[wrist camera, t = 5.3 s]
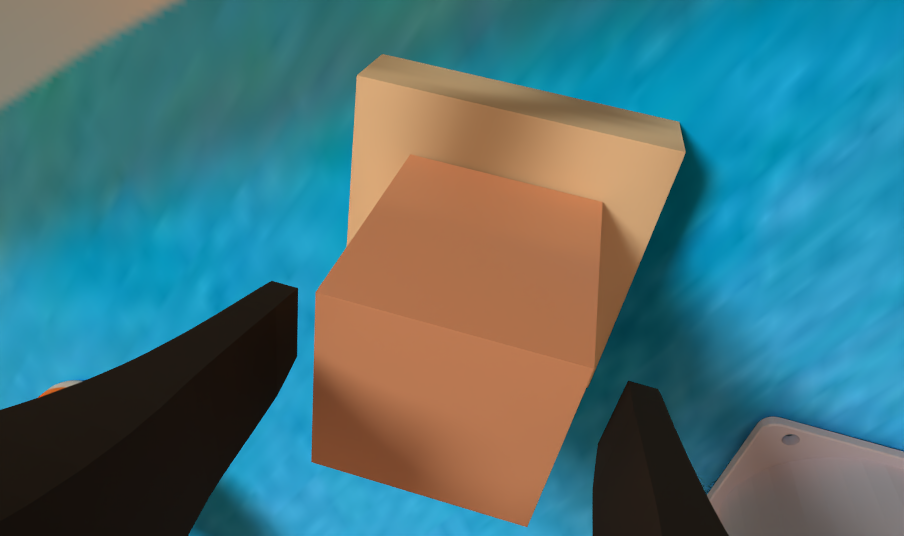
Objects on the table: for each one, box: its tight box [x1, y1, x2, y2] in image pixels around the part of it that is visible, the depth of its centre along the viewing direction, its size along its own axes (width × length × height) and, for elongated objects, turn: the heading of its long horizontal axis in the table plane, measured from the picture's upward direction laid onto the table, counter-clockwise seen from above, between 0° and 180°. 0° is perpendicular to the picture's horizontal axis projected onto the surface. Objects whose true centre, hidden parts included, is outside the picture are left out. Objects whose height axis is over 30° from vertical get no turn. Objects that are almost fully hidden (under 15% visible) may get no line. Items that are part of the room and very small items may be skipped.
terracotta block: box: [311, 154, 603, 527], centre depth 14 cm, size 5×5×6 cm
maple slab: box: [347, 54, 686, 388], centre depth 18 cm, size 8×8×2 cm
